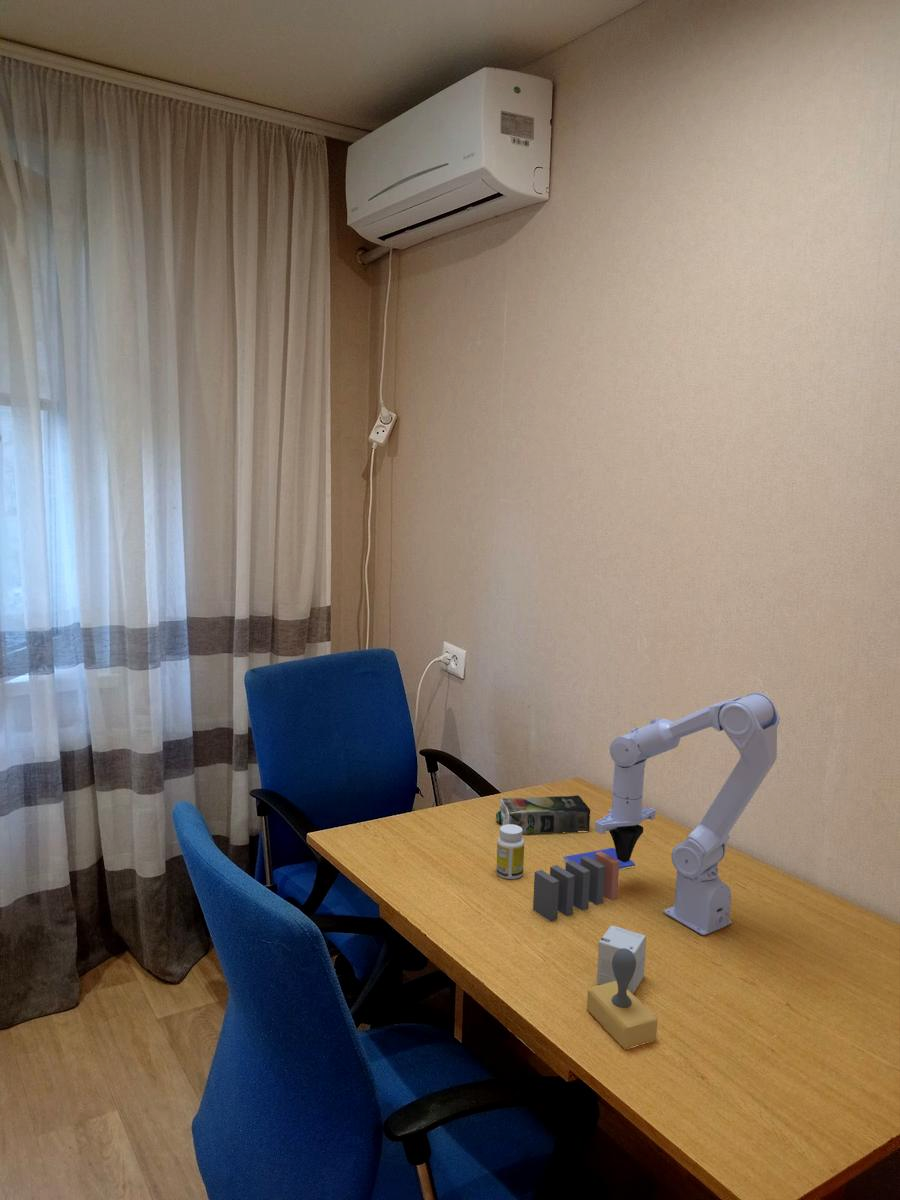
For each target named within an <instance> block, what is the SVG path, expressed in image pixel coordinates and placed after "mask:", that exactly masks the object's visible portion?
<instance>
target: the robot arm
mask: <svg viewBox="0 0 900 1200" xmlns="http://www.w3.org/2000/svg"><path fill="white" fill-rule="evenodd" d="M780 721H781V717H780V715H779V712H778V710H777V708H776V704H775V703H774V702H773V701H772V699H771V698H770V697H769V696H768V695H766V694H764V693H761V692H751V693H749V694H747V695H745V696H744V697H742V696H737V697H733V698H730V699H726V700H722V701H719V702H716V703H713V704H711V705H708V706H706V707H704V708H702V709H699V710H697V711H695V712H693V713H691V714H688V715H686V716H684V717H682V718H680V719H677V720H675V721H672V720H670V719H668V718H661V719H660V717H656V718H653V719H650V720H649V723H650V724H647V725H645V726H642V727H640V728H639V727H633V728H631V729H630V732H629V733H626V734H623V735H618V736H617V737H616V738H614V739H613V740H612V741H611V743H610V745H609V753H610V754H609V755H610V757H611V759H612V761H613V762H614V765H613V767H614V768H613V781H612V782H613V783H612V798H611V808H609V809H608V814H607V815H605V816H604V817H602V818H600V819H598V820H595V821H594V822H595V823H594V831H595V832H597V833H598V834H601V835H605V834H606V832H609V833H610V837H611V838H612V841H613V844H614V848H615V850H616V855H617V859H618V860H620V861H622V862H624V863H625V862H628V861H629V860H631V856H632V854H633V851H634V848H635V846H636V844H637V841H638V840H639V839H640V837H641V836H642V834H643V833H644V827H643V826H642V825H640V824H641V823H643V822H644V821H647V820H652V821H653V820H655V819H656V811H657V810H656V809H654V808H652V807H650V806H645V807H643V792H644V780H645V768H646V763H647V762H646V761H647V760H648V759H651V758H653V757H656V756H658V755H660V754H663V753H666V752H668V751H671V750H674V749H676V748H677V747H678V746H679V744H680V741H681V738H683V737H686V736H689V735H691V734H695V733H698V732H699V731H702V730H703V731H704V730H705V729H708V728H713V729H714V730H716V731H717V732H721V731H724V732H725V734H726V736H728V738H729V740H730V741H731V742H732V744H733V745H734V746H735V747H736V750H737V751H738V752H739V755H740V758H739V760H738V761H737V763H736V765H735V766H734V768H733V770H731V773H730V774H729V776H728V777H727V779H726V781H725V782H724V784H723V785H722V787H721V789H720V790H719V792H718V793H717V795H716V797H715V798H714V799H713V801H712V804H710V806H709V807H708V810H707V811H706V813H705V814H704V816H703V817H702V819H701V820H700V822H699V824H698V825H697V826H695V828H694V829H693V830H692V831H690V833H689V834H688V835H687V837H686V839H685V840H684V841H682V842H680V843H678V844H676V845H675V846H674V848H673V849H672V851H671V862H672V865H673V867H674V868H675V870H676V880H675V892H674V895H675V896H674V904H673V906H671V907H668V908H665V909H663V913H664V914H665V915H667V916H669V917H670V918H672V919H674V920H676V921H677V922H678V923H681V924H683V925H684V926H686V927H688V928H690V929H691V930H693V931H694V932H696V933H698V934H699V935H702V936H706V935H709V934H711V933H713V932H716V931H718V930H720V929H722V928H723V929H724V928H726V927H727V925H728V926H730V925H732V920H730V916H731V915H730V912H731V901H732V889H731V888H730V886H729V885H728V884H727V883H725V882H724V881H723V880H722V879H721V877H720V876H719V868H718V867H719V863H720V862H721V861H722V860H723V859H724V858H725V855H726V852H727V851H726V850H727V849H726V848H727V843H728V842H729V840H730V838H731V837H730V835H729V834H730V832H731V831H732V829H733V828H734V826H735V824H736V823H737V821H738V820H739V818H740V816H741V815H742V813H743V812H744V810H746V807H747V806H748V804H749V803H750V801H751V800H752V798H753V796H754V795H755V793H756V792H757V790H758V789H759V787H760V786H761V784H762V783H763V781H764V780H765V778H766V776H767V775H768V773H769V772H770V770H771V769H772V768H773V766H774V764H775V763H776V760H777V756H778V753H777V752H778V749H777V748H778V728H779V727H778V726H779V724H780ZM729 924H730V925H729Z"/></svg>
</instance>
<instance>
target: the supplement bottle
mask: <svg viewBox="0 0 900 1200" xmlns="http://www.w3.org/2000/svg"><path fill="white" fill-rule="evenodd" d="M522 831H523V830H522V828H521V827H520V826H518V825H513V824H507V825H503V826H502V825H501V826H500V828H499V837H498V838H497V840H496V841H497V843H496V845H497V846H496V868H495V869H496V874H497V875H498V876H499V877H500V878H502V879H506V880H517V879H519V878H521V877H523V874H524V864H525V863H524V861H525V839H524V838H523V835H522Z"/></svg>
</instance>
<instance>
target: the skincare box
mask: <svg viewBox="0 0 900 1200" xmlns="http://www.w3.org/2000/svg"><path fill="white" fill-rule="evenodd" d="M646 943H647V935H645V934H641V933H638V932H635V931H631V930H628V929H625V928H622V927H618V926H615V925H610V927H609V928H608V929H607V931H606V932H605V933H604V934H603V936H601V938H600V939H599V940H598V953H597V955H598V956H597V977H596V979H597V982H596V983H597V984H598V985H602V984H606V983H609V982H613V981H616V978H615V975H614V972H613V968H612V960H613V956H614V954H615V952H616V951H617V950H619V949H621V948H625V949H628V950H630V951H631V952H632V953H633V955H634V956H635V958H636V969H635V972H634V975H633V977H632V979H631V981H630V983H629V985H628V987H627V990H629V991H630V992H631V993H632V994H633V995H634V993H635V992H636V990H637V988H638V987H639V985H640V984H641V983H642V980H643V979H644V978H645V965H646V964H645V963H646V949H647V948H646V946H647V944H646Z"/></svg>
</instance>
